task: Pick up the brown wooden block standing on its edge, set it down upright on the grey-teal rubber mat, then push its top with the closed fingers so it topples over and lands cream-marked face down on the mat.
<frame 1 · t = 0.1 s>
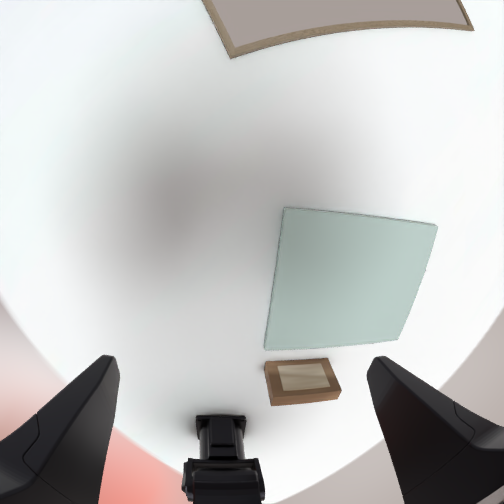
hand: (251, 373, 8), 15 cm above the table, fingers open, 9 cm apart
mat: (354, 287, 25), on the table
brown wooden block: (296, 364, 29), on the table
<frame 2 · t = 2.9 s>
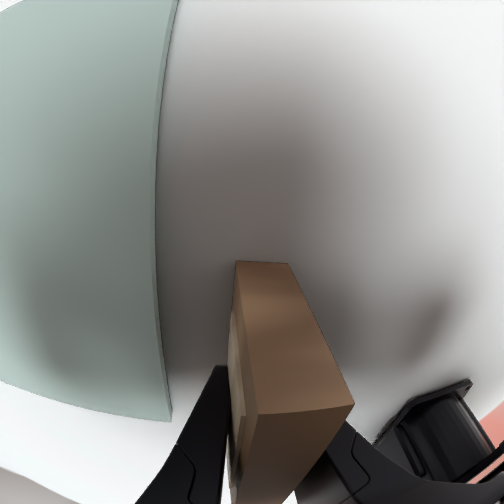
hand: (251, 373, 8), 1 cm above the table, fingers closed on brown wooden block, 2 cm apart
brown wooden block: (249, 352, 9), on the table, touching gripper
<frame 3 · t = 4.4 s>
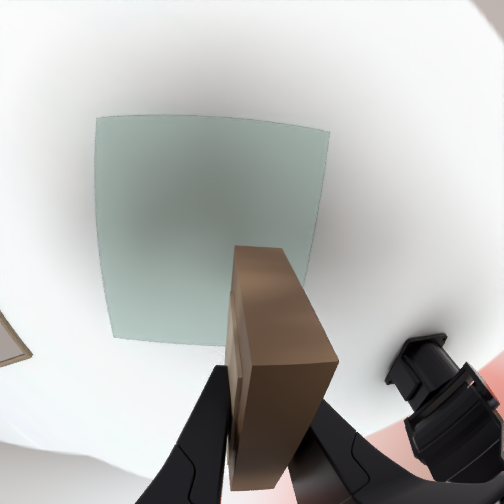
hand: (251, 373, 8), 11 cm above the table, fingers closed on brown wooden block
mat: (202, 244, 18), on the table
brown wooden block: (247, 333, 10), point 9 cm above the table, touching gripper
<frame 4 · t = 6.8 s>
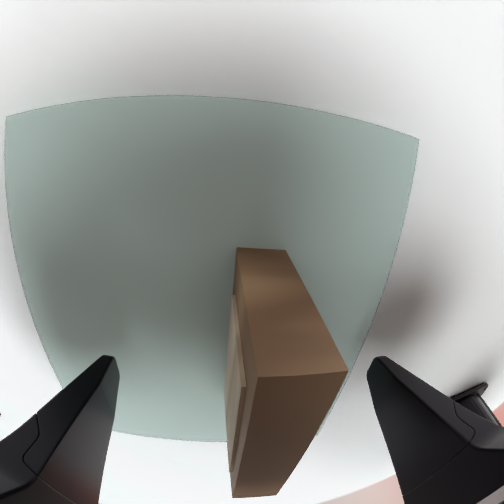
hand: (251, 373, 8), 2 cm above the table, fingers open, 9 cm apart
mat: (192, 329, 10), on the table
brown wooden block: (249, 338, 10), point 1 cm above the table, touching mat
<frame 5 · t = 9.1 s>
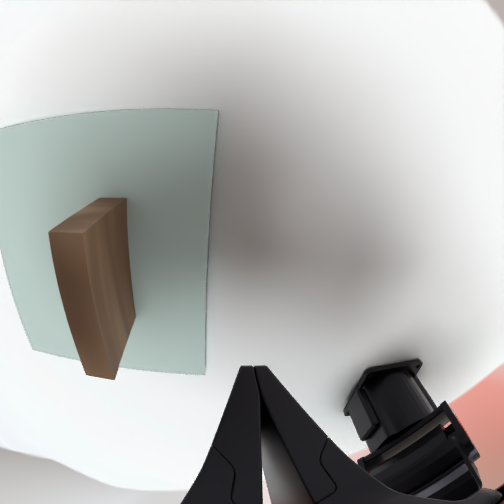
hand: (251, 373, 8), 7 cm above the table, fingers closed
mat: (88, 258, 14), on the table
brown wooden block: (117, 262, 14), point 1 cm above the table, touching mat
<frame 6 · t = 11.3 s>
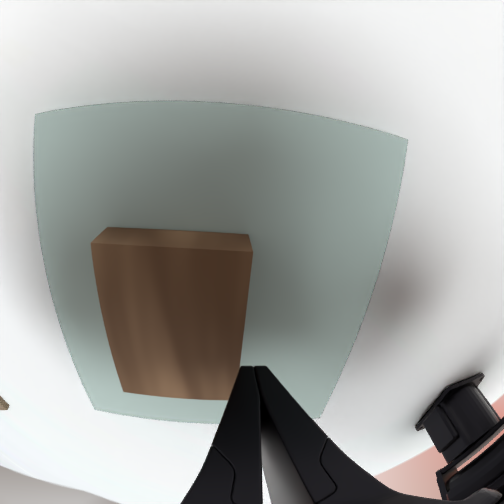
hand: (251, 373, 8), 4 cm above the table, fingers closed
mat: (206, 310, 11), on the table
brown wooden block: (240, 329, 10), point 1 cm above the table, tilted 90°, touching mat
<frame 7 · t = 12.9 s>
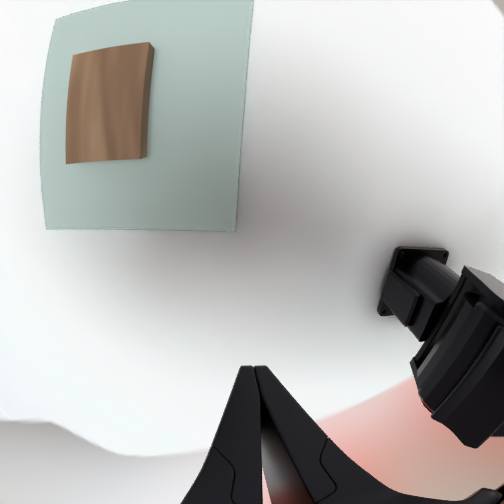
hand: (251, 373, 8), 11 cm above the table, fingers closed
mat: (131, 106, 15), on the table
brown wooden block: (146, 99, 13), point 1 cm above the table, tilted 90°, touching mat
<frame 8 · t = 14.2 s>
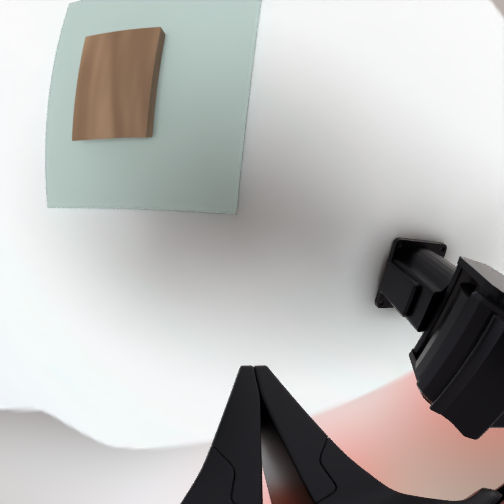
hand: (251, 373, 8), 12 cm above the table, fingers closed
mat: (139, 88, 15), on the table
brown wooden block: (154, 81, 13), point 1 cm above the table, tilted 90°, touching mat
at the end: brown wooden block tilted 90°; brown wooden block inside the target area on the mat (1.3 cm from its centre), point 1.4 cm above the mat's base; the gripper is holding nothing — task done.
